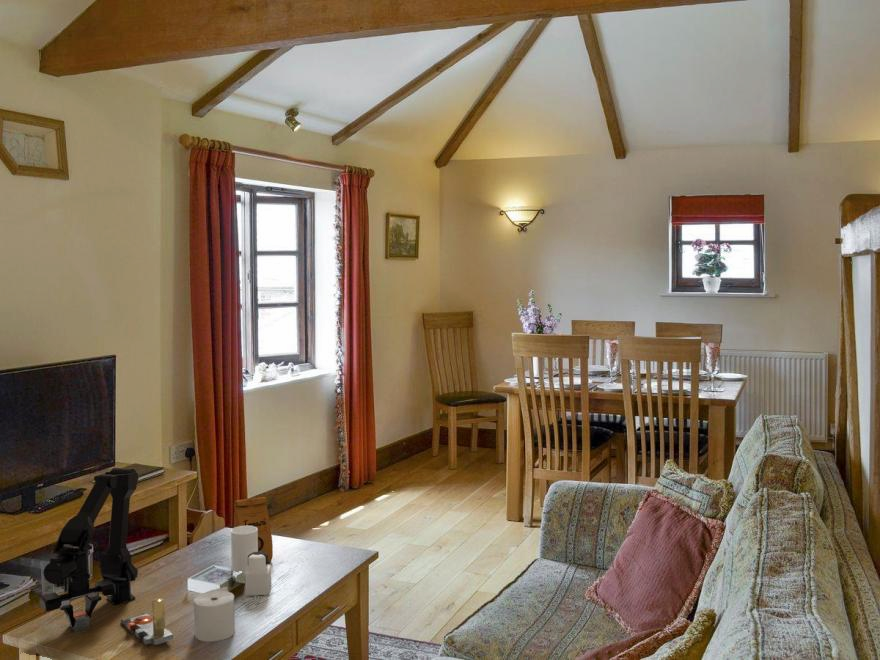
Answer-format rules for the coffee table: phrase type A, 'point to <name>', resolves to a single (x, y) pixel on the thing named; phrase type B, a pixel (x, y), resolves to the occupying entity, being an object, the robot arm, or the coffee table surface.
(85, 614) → the grey and red block
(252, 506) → the coffee package
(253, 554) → the medicine bottle
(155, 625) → the rack
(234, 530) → the white cylinder
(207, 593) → the toilet tissue
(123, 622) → the guide
